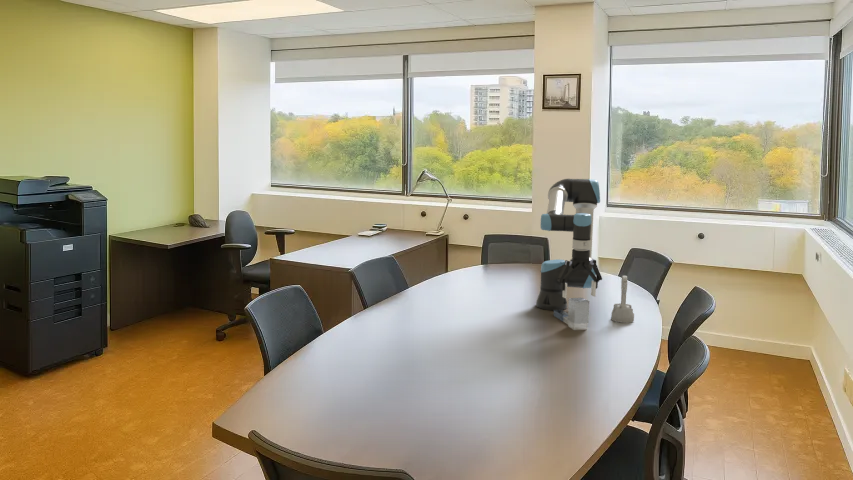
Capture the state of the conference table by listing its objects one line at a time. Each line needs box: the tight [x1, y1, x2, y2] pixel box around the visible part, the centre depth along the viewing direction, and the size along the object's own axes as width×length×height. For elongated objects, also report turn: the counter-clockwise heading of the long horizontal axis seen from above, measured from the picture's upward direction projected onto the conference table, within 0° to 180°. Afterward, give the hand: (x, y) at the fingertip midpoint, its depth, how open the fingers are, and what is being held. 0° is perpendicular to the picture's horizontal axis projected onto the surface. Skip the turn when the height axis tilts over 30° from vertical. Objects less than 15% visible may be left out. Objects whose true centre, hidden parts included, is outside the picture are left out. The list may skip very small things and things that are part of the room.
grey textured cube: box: [567, 297, 590, 324], centre depth 288 cm, size 7×7×10 cm
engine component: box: [610, 275, 635, 324], centre depth 303 cm, size 11×20×10 cm
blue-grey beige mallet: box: [553, 309, 588, 331], centre depth 298 cm, size 24×6×8 cm, turn 13°
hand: (578, 296), depth 288 cm, fingers open, 13 cm apart
